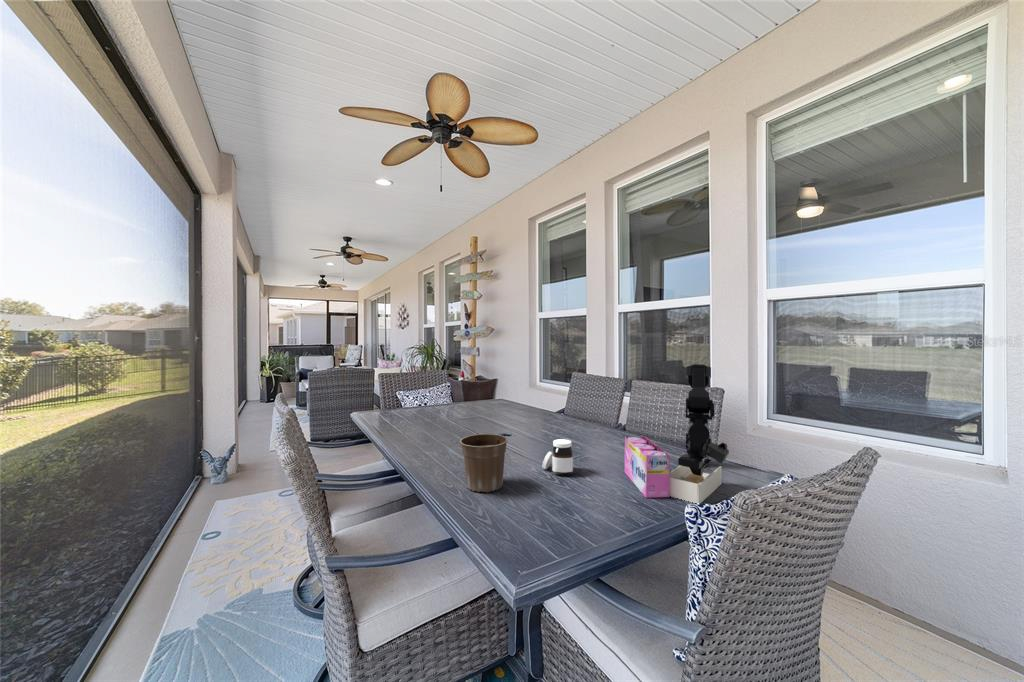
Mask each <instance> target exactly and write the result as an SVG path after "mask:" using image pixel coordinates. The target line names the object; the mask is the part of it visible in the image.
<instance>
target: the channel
mask: <svg viewBox="0 0 1024 682" xmlns="http://www.w3.org/2000/svg"><path fill="white" fill-rule="evenodd" d="M722 469H723V467H722V466H718V467H717V468H716V469H714V470H713V471H712V472H711V473H707V472H703V475H702V476H703V477H704V480H702V481H701V482H700V483H699V484H696V483H692V482H688V481H686V477H687V476H688V475H689V474H692V472H691V470H690V468H689V467H685V466H681V465H678V466H676V467H675V468H674V469H673V470H670V493H669V497H670V496H671V498H674V499H677V498H678V500H681V499H682V501H684V500H685V501H684V502H688V501H689V502H688V503H692V502H693V504H695V503H700V504H702V503H703V502H704V501H705V500H706V499H707V498H708V497H709V496H710V495H711V494H713V492H714V491H716V490H717V489H718V488H719V487H720V486H721V485H722V477H723V475H722V472H723V471H722Z"/></svg>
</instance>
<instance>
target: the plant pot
mask: <svg viewBox="0 0 1024 682" xmlns="http://www.w3.org/2000/svg"><path fill="white" fill-rule="evenodd" d="M459 443H460V445H461V450H462V454H463V458H464V468H465V469H464V471H465V478H466V479H465V480H466V486H467V487H468V488H469V489H470V490H469V489H468V488H467V489H468V490H469V491H471V490H472V492H474V491H477V492H476V493H480V492H483V493H484V492H486V493H491V492H490V491H493V492H496V491H498V490H500V489H501V488H502V487H503V484H504V482H503V481H504V472H505V471H504V467H505V455H506V452H507V443H508V437H507V436H504V435H503V434H497V433H478V434H471V435H467V436H465V437H463V438H461V439H460V440H459ZM495 490H496V491H495Z"/></svg>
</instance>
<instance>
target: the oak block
mask: <svg viewBox="0 0 1024 682" xmlns="http://www.w3.org/2000/svg"><path fill="white" fill-rule="evenodd" d="M702 480H704V477H703V476H699V475H694V474H689V475H688V476H687V477H686V481H688V482H692V483H696V484H699V483H700V482H701V481H702Z"/></svg>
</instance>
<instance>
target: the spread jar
mask: <svg viewBox="0 0 1024 682" xmlns="http://www.w3.org/2000/svg"><path fill="white" fill-rule="evenodd" d="M552 444H553V446H552V449H551V451H548V452H547V453H546V455H545V456H544V459H543V461H542V465H541V468H542V469H544V470H548V468H549V467H550V465H551V471H552V473H553V474H554V475H556V476H559V475H562V477H565V476H564V475H567V476H571V475H572V474H573V473H574V453H573V452H574V451H573V448H572V445H573V444H572V440H570V439H565V438H560V439H559V438H558V439H554V440H553V441H552Z"/></svg>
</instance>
